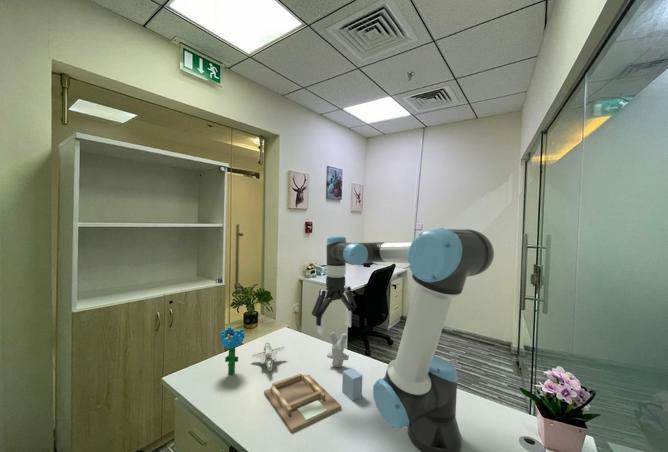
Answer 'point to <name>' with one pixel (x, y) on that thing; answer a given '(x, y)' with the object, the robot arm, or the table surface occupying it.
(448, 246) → the robot arm
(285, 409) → the jig
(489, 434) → the table surface
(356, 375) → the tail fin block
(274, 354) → the toy spacecraft
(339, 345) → the bunny figurine
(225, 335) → the toy flower
